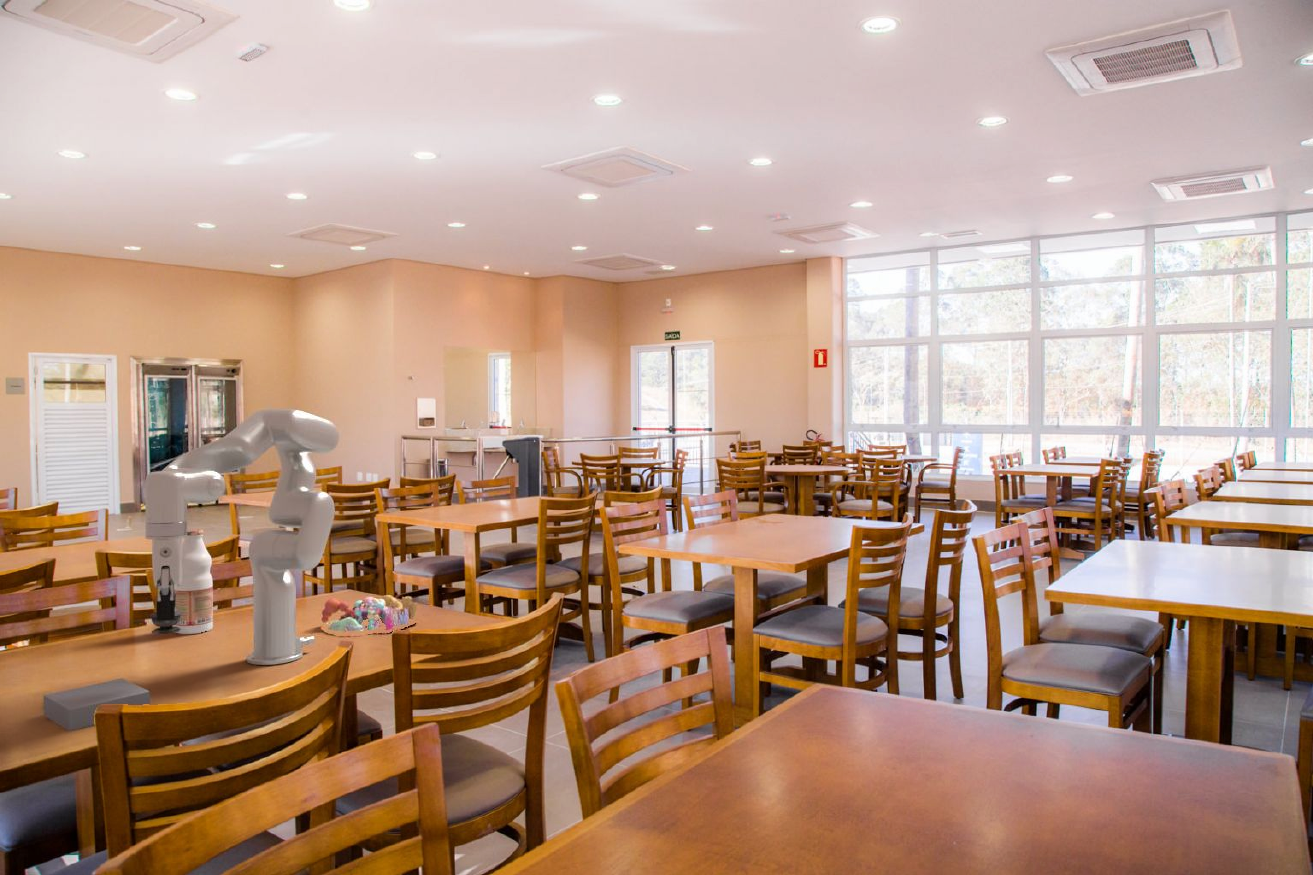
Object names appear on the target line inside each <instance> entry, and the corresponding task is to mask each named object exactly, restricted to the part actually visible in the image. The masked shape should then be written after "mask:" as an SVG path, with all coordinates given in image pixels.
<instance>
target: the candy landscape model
mask: <svg viewBox="0 0 1313 875" xmlns="http://www.w3.org/2000/svg"><path fill="white" fill-rule="evenodd" d="M412 600H413V597H412V596H410V595H407V596H402V597H401V601H399V600H398V599H397V598H396V597H394V596H392V595H391V594H388V595H387V594H386V595H385V594H383V596H382V598H379V599H378V598H376V597H373V596H367V597H365V598H364V599H363V600H361V599H360V600H356V601H355V603H353V604H354V605H353V607H352V608H350V607H349V604H348V602H346V601H342V602H339V600H338V599H335V598H329V599H328V600H327V601H325V603H324V608H323V610H322V611H321V615H322V616H321V621H322V623H326V622H327V623H326V624H328V623H329V622H328V621H329V620H330V617H331V616H332V615H333V614H336V613H337V612H338V611H341V612H344V613H345V614H342V615H341V616H340V618H339V619H338V620H332V621H330V622H331V623H330V624H331V625H330V624H329V625H330V626H329V627H328V629H329V630H334V631H345V632H347V631H351V632H352V631H363V630H364V627H363V626H362V625H361V623H362V622H363V620H366V619H369V620H368V622H369V625H368V629H367V630H373V629H374V627H375V628H378V627H380V626H381V625H380V622H377V621H379V618H380V617H381V618H380V619H381V621H382V623H384V624H385V625H386V629H385V630H390V629H393V628H394V627H393V626H395V627H396V626H399V625H403V624H404V625H405V624H407V623H408V621H409V619H413V620H414V617H415V616H416V613H417V612H418V611H417V610H418V604H419V602H414V603H411V602H412ZM399 620H400V621H399ZM375 621H376V622H375ZM332 622H333V623H332ZM374 623H375V624H374ZM395 623H396V624H395ZM365 628H367V626H365Z"/></svg>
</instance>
